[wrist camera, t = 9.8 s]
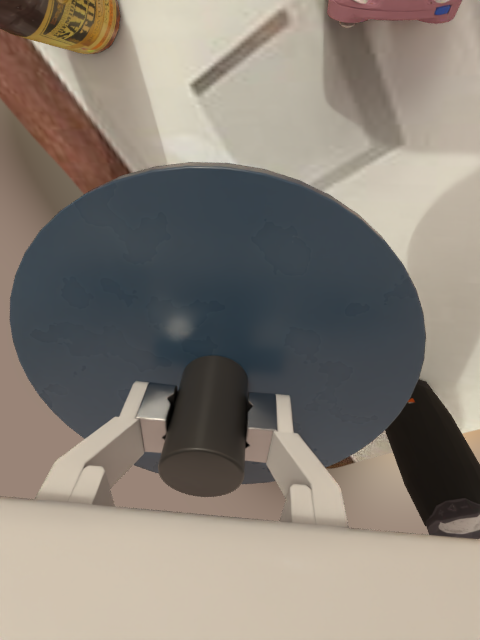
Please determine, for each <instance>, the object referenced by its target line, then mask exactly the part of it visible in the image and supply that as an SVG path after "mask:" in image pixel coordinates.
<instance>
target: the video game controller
mask: <svg viewBox="0 0 480 640" xmlns="http://www.w3.org/2000/svg"><path fill="white" fill-rule="evenodd" d="M461 2H462V0H329V2H328V9H327V14H328V16H329V17H331V18H332V19H335V20H337V21H340V25H342V26H343V27H345V28H350V27H352V26H354V25H355V24H356V23H357V22H363V21H366V20H368V19H374V20H397V21H398V20H419V21H422V22H427V23H434V24H438V23H445V22H449V21H451V20H452V19H453V18H454V17H455V15H456V12H457V10H458V8H459V6H460V4H461Z"/></svg>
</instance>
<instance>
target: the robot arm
mask: <svg viewBox="0 0 480 640" xmlns="http://www.w3.org/2000/svg"><path fill="white" fill-rule="evenodd" d="M177 393H178V388H177V386H176V385H168V384H160V383H151V382H141V381H135V383H134V384H133V385H132V388H131V390H130V392H129V395H128V397H127V399H126V402H125V404H124V406H123V409H122V411H121V413H120V416H119V417H114V418H112V419H111V420H110V421H108V422H107V423H106V424H104V425H103V426H102V427H100V428H99V429H98V430H96V431H95V432H94V433H92V434H91V435H90V436H88V437H87V438H86V439H84V440H83V441H82V442H80V443H79V444H78V445H76V446H75V447H74V448H72V449H71V450H69V451H68V452H67V453H65V454H64V455H63V456H61V457H60V458H59V459H57V460H56V461H55V463H54V465H53V467H52V468H51V470H50V472H49V474H48V476H47V478H46V479H45V481H44V483H43V485H42V487H41V488H40V490H39V492H38V494H37V496H36V497H35V499H26V498H14V497H4V496H0V640H480V539H469V538H458V537H447V536H436V535H424V534H414V533H403V532H391V531H381V530H369V529H359V528H349V527H348V522H347V517H346V512H345V508H344V502H343V497H342V492H341V487H340V486H339V485H338V484H337V482H336V481H335V480H334V479H333V477H332V476H331V475H330V473H329V472H328V471H327V470H326V468H325V467H324V466H323V464H322V463H321V462H320V461H319V459H318V458H317V457H316V456H315V454H314V453H313V452H312V451H311V449H310V448H309V447H308V446H307V444H306V443H305V442H304V441H303V439H302V438H301V437H300V436H299V434H298V433H294V430H293V420H292V410H291V400H290V396H289V395H281V394H270V393H258V392H248V397H247V421H246V447H245V460H246V461H254V462H262V463H266V465H267V466H268V468H269V470H270V472H271V474H272V475H273V477H274V479H275V481H276V483H277V484H278V486H279V488H280V490H281V492H282V493H283V495H284V497H285V499H286V501H285V504H284V508H283V510H282V514H281V517H280V520H279V521H269V520H259V519H248V518H237V517H225V516H215V515H204V514H193V513H181V512H170V511H159V510H148V509H137V508H126V507H115V505H114V501H113V498H112V494H111V491H110V489H111V488H112V487H113V486H114V484H116V483H117V481H118V480H119V479H120V478H121V477H122V476H123V475H124V474H125V473H126V472H127V471H128V470H129V469H130V468H131V467H132V466H133V465H134V464H135V463H136V462H137V460H138V459H139V458H140V457H141V456H142V455H143V454H144V452H155V453H162V449H163V445H164V442H165V438H166V434H167V430H168V427H169V423H170V419H171V415H172V412H173V408H174V404H175V401H176V397H177Z"/></svg>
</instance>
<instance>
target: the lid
mask: <svg viewBox="0 0 480 640" xmlns="http://www.w3.org/2000/svg"><path fill="white" fill-rule="evenodd" d="M10 325H11V332H12V338H13V343H14V346H15V349H16V352H17V355H18V358H19V361H20V363H21V365H22V367H23V369H24V371H25V373H26V375H27V377H28V379H29V381H30V382H31V384H32V385H33V387H34V388H35V390H36V391H37V393H38V394H39V396H40V397H41V398H42V400H43V401H44V402H45V403H46V404H47V405H48V407H49V408H50V409H51V410H52V411H53V412H54V413H55V414H56V415H57V416H58V417H59V418H60V419H61V420H62V421H63V422H64V423H65V424H66V425H67V426H69V427H70V428H71V429H73V430H74V431H75V432H76V433H78V434H79V435H80V436H82V437H83V438H84V439H86V438H87V437H88V436H90V435H91V434H92V433H94V432H95V431H96V430H98V429H99V428H100V427H102V426H103V425H104V424H106V423H107V422H108V421H110V420H111V419H112V418H114V417H119V416H120V413H121V411H122V409H123V406H124V404H125V402H126V399H127V397H128V395H129V392H130V390H131V388H132V385H133V384H134V383H135V381H141V382H151V383H160V384H168V385H176V386H177V388H178V393H177V397H176V401H175V404H174V408H173V412H172V415H171V419H170V423H169V427H168V430H167V434H166V438H165V442H164V445H163V449H162V453H155V452H144V454H143V455H142V456H141V457H140V458H139V459H138V460H137V462H136V463H135V464H134V465H135V466H138V467H141V468H143V469H146V470H149V471H152V472H155V473H159V475H160V477H161V479H162V480H163V481H164V482H165V483H166V484H167V485H168V486H170V487H171V488H173V489H175V490H177V491H179V492H182V493H185V494H188V495H193V496H200V497H214V496H221V495H225V494H228V493H231V492H233V491H234V490H236V489H237V488H238V487H239V486H240V485H241V484H254V483H265V482H272V481H275V479H274V477H273V475H272V474H271V472H270V470H269V468H268V466H267V465H266V463H262V462H254V461H246V460H245V447H246V421H247V397H248V392H258V393H270V394H281V395H289V396H290V400H291V410H292V420H293V430H294V433H298V434H299V436H300V437H301V438H302V439H303V441H304V442H305V443H306V444H307V446H308V447H309V448H310V449H311V451H312V452H313V453H314V454H315V456H316V457H317V458H318V459H319V461H320V462H321V463H322V464H323V466H324V467H325V468H326V467H328V466H330V465H333V464H335V463H337V462H339V461H341V460H343V459H345V458H347V457H349V456H350V455H352V454H354V453H356V452H358V451H359V450H360V449H362V448H363V447H365V446H366V445H368V444H369V443H370V442H372V441H373V440H374V439H375V438H377V437H378V436H379V435H380V434H381V433H382V432H383V431H384V430H386V429H387V428H388V426H389V425H390V424H391V423H392V422H393V421H394V420H395V418H396V417H397V416H398V415H399V414H400V412H401V411H402V409H403V408H404V406H405V405H406V403H407V402H408V400H409V399H410V397H411V395H412V393H413V390H414V388H415V386H416V384H417V382H418V379H419V376H420V372H421V368H422V364H423V361H424V352H425V339H426V334H425V325H424V315H423V311H422V307H421V304H420V301H419V297H418V294H417V291H416V288H415V286H414V284H413V282H412V280H411V278H410V276H409V275H408V273H407V271H406V269H405V267H404V265H403V264H402V262H401V261H400V260H399V258H398V257H397V256H396V254H395V253H394V252H393V250H392V249H391V248H390V247H389V245H388V244H387V243H386V241H385V240H384V239H383V238H382V236H381V235H380V234H379V233H378V232H377V231H376V230H374V229H373V228H372V227H371V226H370V225H369V224H368V223H367V222H366V221H365V220H364V219H363V218H362V217H361V216H360V215H359V214H357V213H356V212H354V211H353V210H351V209H350V208H348V207H347V206H345V205H344V204H342V203H341V202H340V201H338V200H337V199H335V198H334V197H332V196H331V195H329V194H327V193H325V192H322V191H320V190H318V189H316V188H314V187H312V186H310V185H308V184H306V183H304V182H302V181H300V180H297V179H294V178H291V177H287V176H284V175H281V174H278V173H275V172H272V171H269V170H265V169H260V168H254V167H248V166H242V165H236V164H230V163H203V162H188V163H180V164H172V165H164V166H155V167H152V168H148V169H144V170H141V171H137V172H134V173H130V174H126V175H123V176H120V177H118V178H116V179H114V180H112V181H109V182H107V183H105V184H103V185H101V186H99V187H96V188H94V189H92V190H91V191H89V192H87V193H86V194H84V195H83V196H81V197H80V198H79V199H77V200H75V201H74V202H73V203H71V204H70V205H68V206H67V207H65V208H64V209H62V210H61V211H60V212H59V213H58V214H57V215H56V216H54V218H52V220H50V221H49V223H48V224H46V225H45V226H44V227H43V228H42V229H41V230H40V232H39V233H38V234H37V236H36V237H35V239H34V240H33V242H32V243H31V245H30V246H29V247H28V249H27V250H26V252H25V254H24V256H23V258H22V261H21V263H20V265H19V268H18V270H17V272H16V275H15V279H14V284H13V288H12V293H11V297H10Z"/></svg>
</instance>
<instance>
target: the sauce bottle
mask: <svg viewBox="0 0 480 640" xmlns="http://www.w3.org/2000/svg"><path fill="white" fill-rule="evenodd" d="M119 21H120V13H119V6H118V2H117V0H0V29H3V30H4V31H6V32H8V33H10V34H13V35H16V36H20V37H23V38H27V39H30V40H34V41H38V42H42V43H45V44H49V45H52V46H56V47H60V48H64V49H67V50H71V51H74V52H77V53H83V54H95V53H98V52H101V51H103V50H105V49H106V48H109V47H110V46H111V44H112V42H113V41H114V39H115V37H116V34H117V31H118V29H119Z"/></svg>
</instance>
